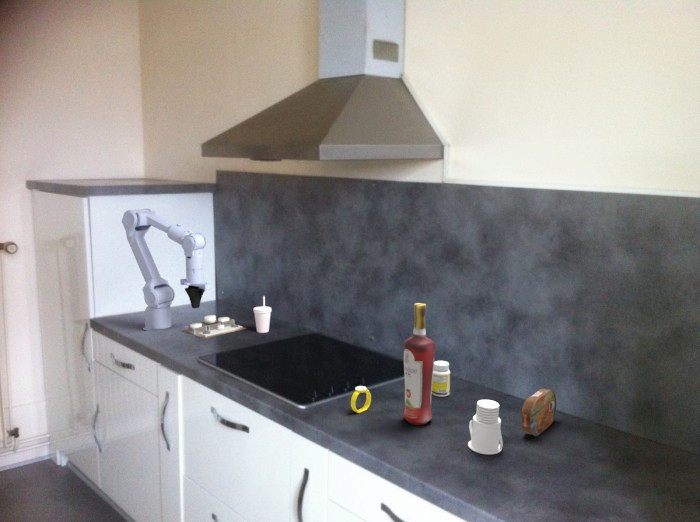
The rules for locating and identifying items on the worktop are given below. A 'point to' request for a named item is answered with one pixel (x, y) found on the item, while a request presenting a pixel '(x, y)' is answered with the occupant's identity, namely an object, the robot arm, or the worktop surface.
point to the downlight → (486, 428)
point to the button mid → (209, 319)
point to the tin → (538, 412)
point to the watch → (353, 400)
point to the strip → (220, 330)
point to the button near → (195, 325)
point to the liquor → (418, 371)
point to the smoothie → (262, 317)
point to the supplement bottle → (441, 379)
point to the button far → (223, 319)
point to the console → (210, 328)
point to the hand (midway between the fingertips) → (195, 307)
